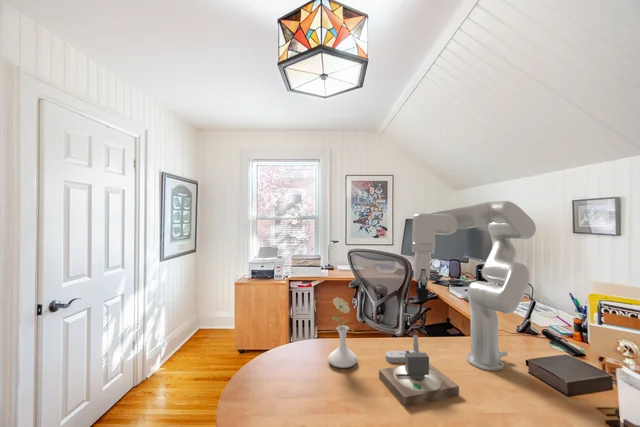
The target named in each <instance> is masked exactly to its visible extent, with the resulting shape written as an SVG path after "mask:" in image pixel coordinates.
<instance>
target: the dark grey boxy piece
mask: <svg viewBox="0 0 640 427" xmlns="http://www.w3.org/2000/svg"><path fill="white" fill-rule="evenodd" d="M429 363H430V357H429V355H428V353H426V352H422V353H405V364H404V365H405V371H406V372H407V374H396V376H397V377H411V378H412V379H414V380H424V379H425V375H429Z"/></svg>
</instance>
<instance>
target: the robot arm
mask: <svg viewBox="0 0 640 427" xmlns="http://www.w3.org/2000/svg"><path fill="white" fill-rule="evenodd" d="M484 225H488V226H487V229H488V233H489V235H490V238H491V243H492V246H491V250H490V253H489V254H488V256H487V258H486V260H485V263H484V264H483V267H482V269H481V275H482V277H483V278H484V279H485V280H486V281H484V280H483V281H481V280H476V281H473V282H471V283H470V284H469V285H468V287H467V292H466V293H467V297H468V298H467V299H468V302H469V309H470V310H469V312H470V314H469V315H470V352H468V353H467V354H466V355H465V356H466V358H465V359H466V361H467V362H468V363H469V364H471V366H473V367H477V368H478V369H481V370H485V371H494V372H495V371H501V370H503V369H504V362H503V361H502V360H501V359H502V358H503V357H508V356H509V355H508V352H507V351H506V350H502V351H501V350H499V347H500V346H499V340H500V339H499V318H498V317H499V316H498V315H497V312H499V313H502V314H508V315H509V314H512V313H514V312H516V310H517V309H518V307H519V305H520V303H521V300H522V298H523V295H524V294H525V292H526V289H527V286H528V284H529V281H530V271H529V269H528V267H527V266H526V265H525V264H523V263H522V262H519V261H515V259H516V258H515V257H516V255H517V252H516V248H515V246H514V244H513V243H512V241H511V239H516V240H528V239H529V240H530V239H531V238H533V236H535V235H536V232H537V226H536V223H535V221H534V220H533V218H532V217H530V216H529V215H528V214H527V213H526V212H525V211H524V210H523V209H522V208H521V207H520V206H518V205H517V204H516V203H515V202H512V201H510V200H509V201H508V200H501V201H487V202H486V201H485V202H480V203H477V204H473V205H467V206H463V207H456V208H451V209H446V210H439V211H435V212H430V213H424V212H423V213H421V212H420V213H415V214H414V215H413V216H412V237H411V238H412V239H411V242H412V243H411V253H414V258H413V280H414V281H415V282H416V283H415V284H416V287H415V290H416V291H415V293H416V294H417V300H418V301H422V302H423V301H424V302H428V300H429V299H428V298H429V289H428V287H429V286H428V285H429V284H428V283H429V282H430V277H431V259H432V258H431V256H432V254H435V250H436V249H435V246H436V245H435V244H436V242H435V241H436V240H435V239H436V238H435V237H436V235H441V236H448V235H449V236H450V235H452V234H454V233H455V232H457V230H466V229H473V228H477V227H482V226H484ZM487 281H488V282H487ZM499 284H500V285H499Z"/></svg>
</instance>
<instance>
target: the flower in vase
mask: <svg viewBox="0 0 640 427" xmlns="http://www.w3.org/2000/svg"><path fill="white" fill-rule="evenodd" d="M332 303H333V305H334V307H336V309H337V310H338V313H337V316H339V315H340V312H342V313H344V314H348V313H350V310H351V308H350V305H349V303H348V302H347V301H346V300H344V299H343V298H340V297H336V298H333V299H332ZM331 319H332V320H334V321H336V322H338V323H339V325H338V326H336V327H335V328H336V330H337V332H338V336H339V346H338V347H337V348H336V349H334V350H333V351H332V352H330V353H329V355H328V358H327V361H328V362H329V363H330V364H331V365H332V366H333V367H336V368H342V369H344V368H345V369H347V368H351V367H353V366H355V365H356V364H357V363H358V357H357V355H356V354H355V353H354V352H353V351H352V350H351V349H349V348H348V347H347V344H346V343H347V342H346V341H347V340H346V338H347V333H348V331H349V329H350V327H349V326H348V325H345V324H346V323H347V322H348V320H344V321H342V322H340V319H339V317H336V316H335V315H334V316H332V318H331Z"/></svg>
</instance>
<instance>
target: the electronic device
mask: <svg viewBox="0 0 640 427" xmlns="http://www.w3.org/2000/svg"><path fill="white" fill-rule="evenodd" d="M412 337H413V338H412V339H413V341H412V346H413V347H412V350H389V351H386V352H385V355H384V356H385V361H386V362H388V363H391V364H392V363H393V364H394V363H395V364H397V363H398V364H400V363H401V364H403V363H405V353H423V352H422V351H420V350H419V335H418V334H413V335H412Z"/></svg>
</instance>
